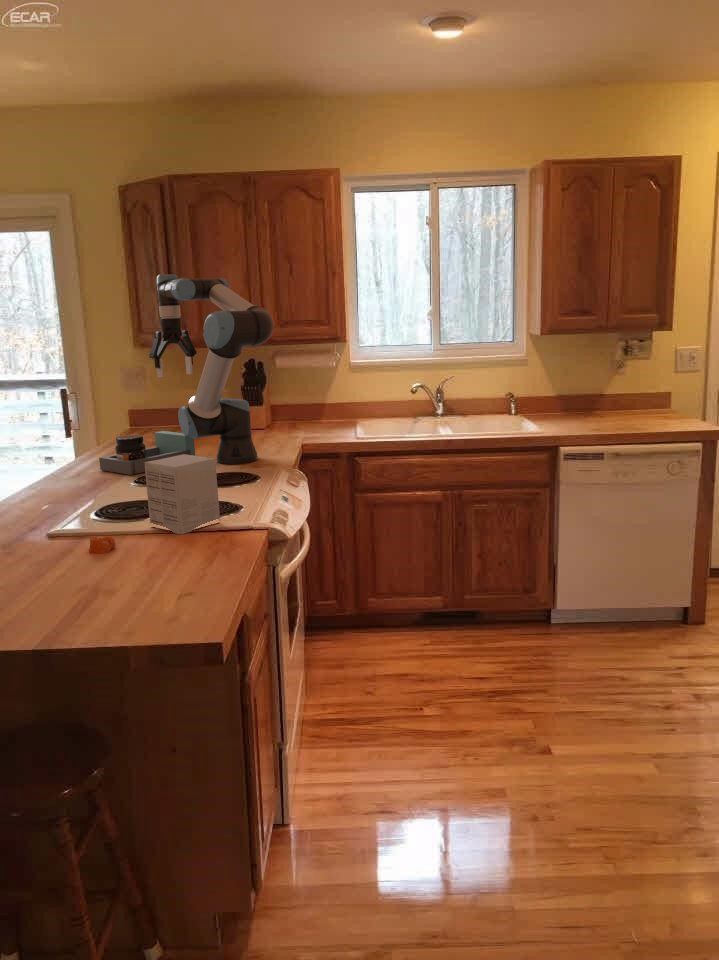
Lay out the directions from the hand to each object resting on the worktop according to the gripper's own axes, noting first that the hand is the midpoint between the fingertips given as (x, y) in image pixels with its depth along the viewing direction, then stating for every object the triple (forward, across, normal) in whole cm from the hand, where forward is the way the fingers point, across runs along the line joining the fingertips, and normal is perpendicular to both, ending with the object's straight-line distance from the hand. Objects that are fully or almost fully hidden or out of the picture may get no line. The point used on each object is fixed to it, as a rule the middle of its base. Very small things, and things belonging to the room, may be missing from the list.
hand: (175, 375), depth 293 cm
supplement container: (+32, +23, 0) cm, 39 cm away
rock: (+33, +87, +77) cm, 121 cm away
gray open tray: (+32, +16, 0) cm, 36 cm away
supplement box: (+32, +62, +77) cm, 104 cm away
